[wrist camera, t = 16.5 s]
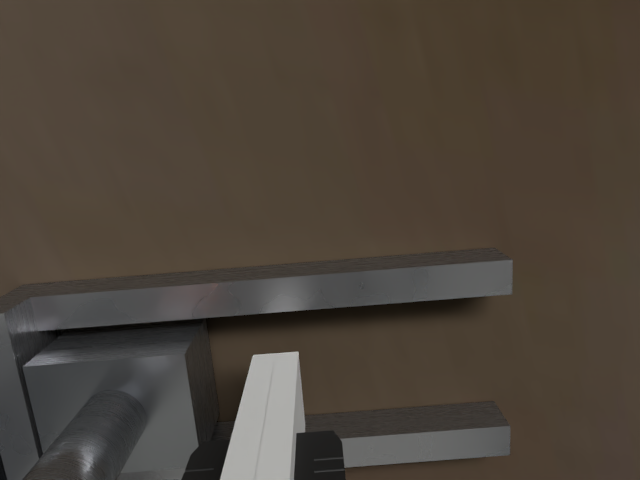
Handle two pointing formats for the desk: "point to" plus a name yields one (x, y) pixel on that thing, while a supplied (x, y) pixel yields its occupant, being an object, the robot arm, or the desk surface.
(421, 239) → the desk surface
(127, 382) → the lever
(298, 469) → the robot arm
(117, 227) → the desk surface
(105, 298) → the lever guide
